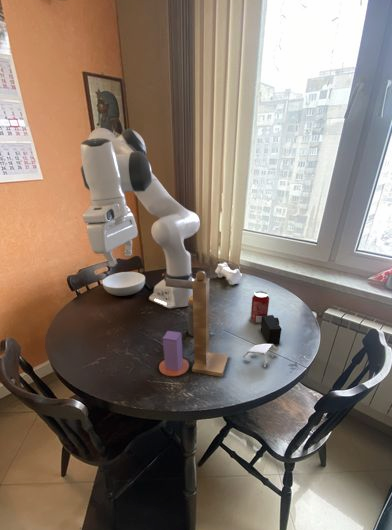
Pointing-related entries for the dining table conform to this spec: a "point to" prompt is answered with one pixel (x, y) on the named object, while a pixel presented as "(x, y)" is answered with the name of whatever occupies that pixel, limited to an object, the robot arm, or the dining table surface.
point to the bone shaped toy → (228, 273)
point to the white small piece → (261, 350)
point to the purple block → (173, 350)
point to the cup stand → (201, 326)
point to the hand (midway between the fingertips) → (121, 260)
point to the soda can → (259, 306)
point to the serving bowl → (124, 283)
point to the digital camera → (270, 329)
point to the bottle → (190, 316)
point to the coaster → (173, 373)
